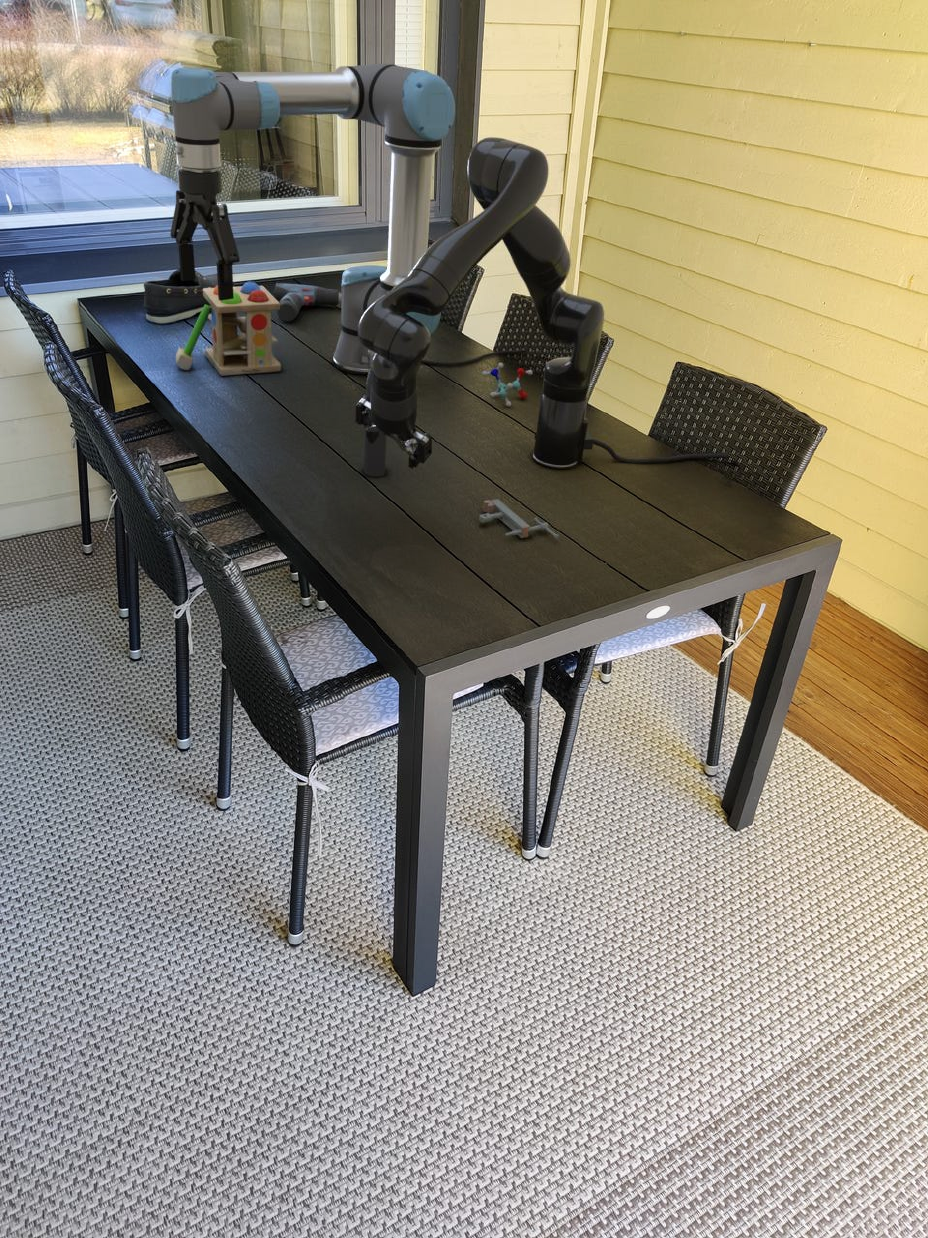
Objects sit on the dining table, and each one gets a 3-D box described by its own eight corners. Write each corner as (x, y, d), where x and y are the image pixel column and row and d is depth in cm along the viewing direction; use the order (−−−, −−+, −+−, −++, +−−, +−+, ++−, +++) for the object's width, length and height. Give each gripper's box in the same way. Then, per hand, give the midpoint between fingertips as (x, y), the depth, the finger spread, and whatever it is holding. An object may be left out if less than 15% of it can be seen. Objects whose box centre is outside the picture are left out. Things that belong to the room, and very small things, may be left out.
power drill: (335, 306, 256) (344, 285, 273) (264, 300, 255) (277, 279, 272) (335, 327, 259) (344, 304, 276) (264, 320, 258) (277, 299, 275)
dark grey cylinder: (387, 470, 192) (393, 352, 178) (380, 478, 188) (385, 359, 175) (368, 466, 192) (372, 348, 179) (360, 474, 189) (363, 355, 176)
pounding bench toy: (183, 379, 220) (176, 299, 210) (169, 357, 231) (162, 280, 221) (282, 371, 230) (280, 294, 220) (264, 350, 240) (262, 276, 230)
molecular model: (528, 399, 218) (514, 355, 217) (489, 413, 222) (475, 370, 221) (541, 397, 229) (527, 355, 228) (504, 410, 233) (491, 369, 231)
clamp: (469, 503, 178) (515, 494, 182) (468, 513, 179) (514, 504, 184) (513, 542, 167) (561, 531, 172) (512, 553, 169) (559, 542, 173)
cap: (391, 364, 180) (392, 350, 178) (384, 370, 176) (384, 356, 175) (372, 360, 180) (372, 346, 179) (364, 366, 177) (364, 352, 176)
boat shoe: (253, 302, 272) (251, 263, 267) (163, 325, 248) (159, 283, 243) (219, 293, 278) (216, 255, 272) (128, 316, 254) (123, 274, 248)
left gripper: (145, 155, 179) (155, 274, 191) (217, 183, 164) (224, 310, 176) (182, 153, 183) (190, 269, 195) (256, 180, 169) (260, 304, 181)
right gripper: (443, 405, 158) (438, 457, 173) (371, 361, 160) (372, 416, 175) (417, 438, 155) (414, 488, 170) (344, 393, 157) (347, 446, 172)
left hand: (206, 289), depth 186 cm, fingers open, 13 cm apart
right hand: (393, 451), depth 173 cm, fingers open, 8 cm apart
